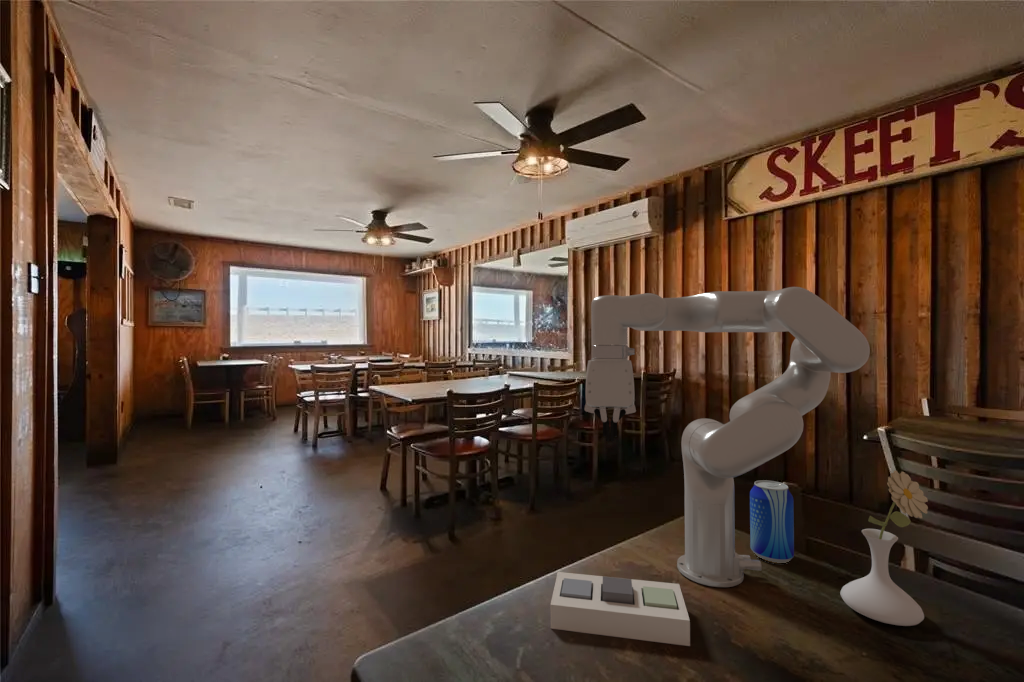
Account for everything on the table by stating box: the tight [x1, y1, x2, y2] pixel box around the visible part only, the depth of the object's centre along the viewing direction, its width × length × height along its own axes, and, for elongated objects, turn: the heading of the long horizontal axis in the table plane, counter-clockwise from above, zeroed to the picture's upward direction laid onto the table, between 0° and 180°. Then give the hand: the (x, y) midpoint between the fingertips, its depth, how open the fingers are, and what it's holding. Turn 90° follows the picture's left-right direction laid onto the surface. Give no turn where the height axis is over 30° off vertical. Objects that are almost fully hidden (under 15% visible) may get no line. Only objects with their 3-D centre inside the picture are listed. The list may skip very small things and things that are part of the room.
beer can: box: [749, 479, 795, 564], centre depth 100 cm, size 8×8×16 cm
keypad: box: [550, 571, 691, 647], centre depth 78 cm, size 22×11×4 cm, turn 78°
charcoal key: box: [602, 576, 633, 605], centre depth 78 cm, size 5×5×3 cm
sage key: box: [643, 586, 677, 609], centre depth 77 cm, size 5×5×3 cm
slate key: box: [561, 578, 592, 600], centre depth 80 cm, size 5×5×3 cm
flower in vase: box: [839, 470, 929, 627], centre depth 79 cm, size 13×11×25 cm
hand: (610, 439), depth 96 cm, fingers closed
